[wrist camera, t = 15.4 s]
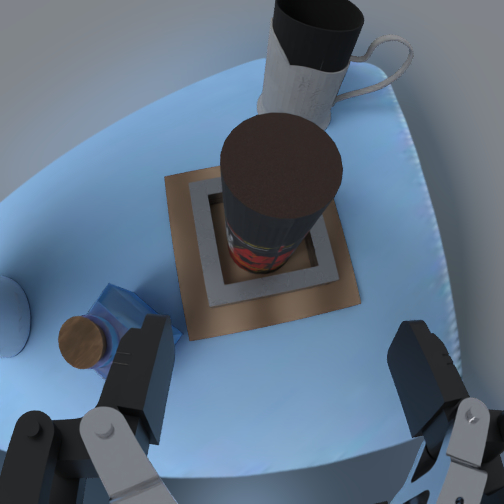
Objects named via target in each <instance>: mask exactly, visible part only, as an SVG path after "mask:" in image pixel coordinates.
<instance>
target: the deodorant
mask: <svg viewBox="0 0 504 504" xmlns="http://www.w3.org/2000/svg"><path fill="white" fill-rule="evenodd" d="M220 171H221V182H222V193H223V204H224V214H225V225H226V235H227V245H228V250H229V253H230V256H231V258H232V259H233V261H234V262H235V263H236V264H237V265H238V266H239V267H240V268H241V269H243V270H245V271H247V272H248V273H252V274H257V275H258V274H268V273H272V272H275V271H276V270H278V269H279V268H281V267H282V266H283V265H284V264H285V263H286V262H287V260H288V259H289V258H290V256H291V255H292V254H293V252H294V251H295V250H296V248H297V247H298V246H299V244H300V243H301V242H302V240H303V239H304V238H305V236H306V235H307V234H308V232H309V231H310V230H311V228H312V227H313V226H314V224H315V223H316V221H317V220H318V219H319V217H320V216H321V215H322V213H323V212H324V211H325V209H326V208H327V206H328V205H329V204H330V202H331V201H332V200H333V198H334V197H335V195H336V193H337V191H338V189H339V187H340V185H341V181H342V173H343V167H342V161H341V155H340V153H339V151H338V149H337V147H336V145H335V143H334V141H333V140H332V139H331V138H330V137H329V135H328V134H327V133H326V132H325V131H324V130H323V129H321V128H320V127H319V126H318V125H316V124H315V123H313V122H311V121H309V120H307V119H305V118H303V117H301V116H297V115H293V114H289V113H276V112H271V113H265V114H260V115H256V116H254V117H251V118H249V119H247V120H245V121H243V122H242V123H240V124H239V125H238V126H237V127H235V128H234V129H233V130H232V131H231V133H230V134H229V136H228V137H227V138H226V140H225V142H224V145H223V148H222V151H221V154H220Z"/></svg>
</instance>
